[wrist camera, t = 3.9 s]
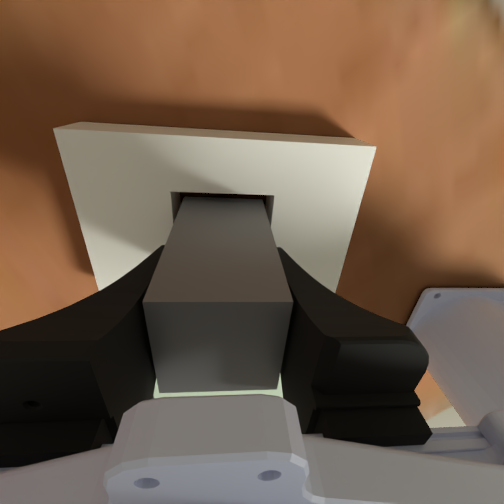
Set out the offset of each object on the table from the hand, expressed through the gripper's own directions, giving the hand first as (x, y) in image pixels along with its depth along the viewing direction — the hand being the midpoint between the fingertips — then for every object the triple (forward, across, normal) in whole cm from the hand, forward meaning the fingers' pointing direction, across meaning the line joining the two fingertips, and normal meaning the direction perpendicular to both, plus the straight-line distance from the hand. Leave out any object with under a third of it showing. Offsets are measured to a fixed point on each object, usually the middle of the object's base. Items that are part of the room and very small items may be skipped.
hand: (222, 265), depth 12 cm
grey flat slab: (+5, 0, 0) cm, 5 cm away
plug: (+3, 0, 0) cm, 3 cm away
